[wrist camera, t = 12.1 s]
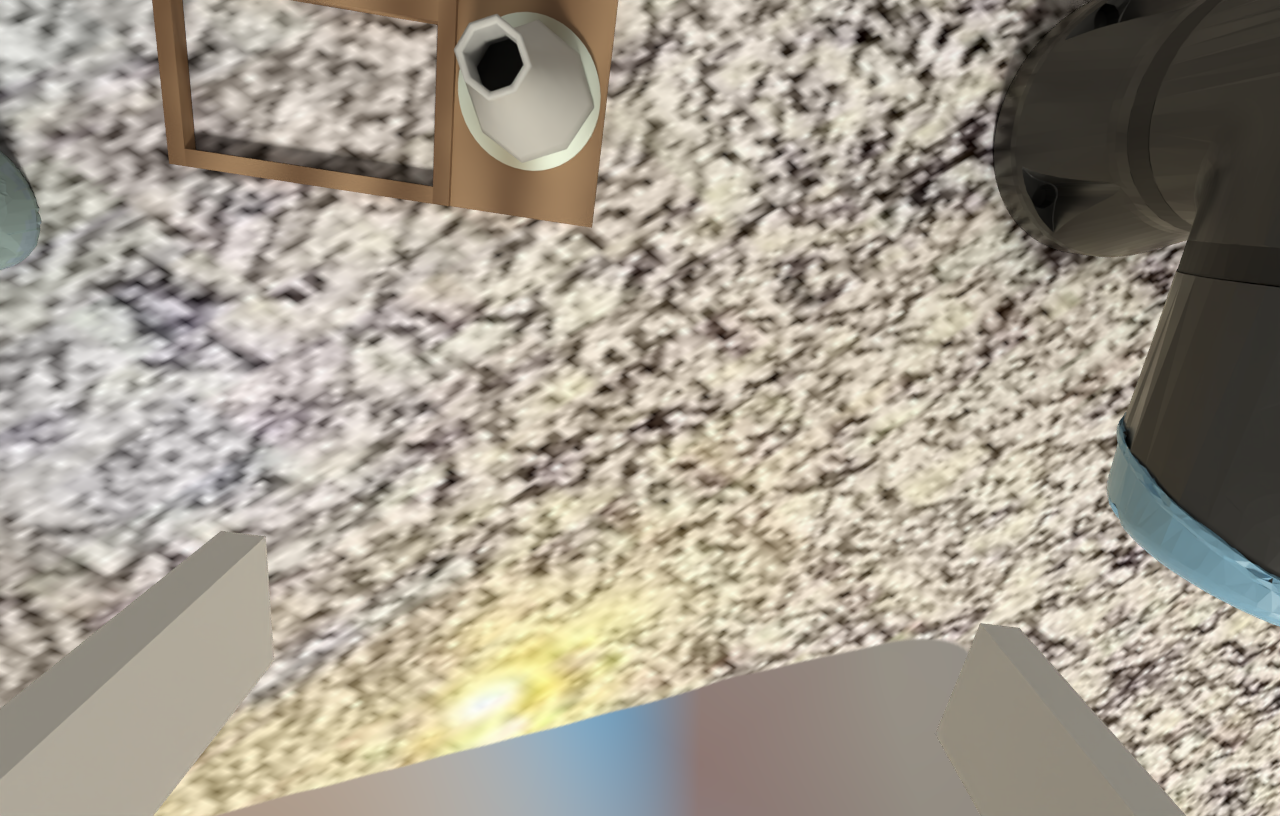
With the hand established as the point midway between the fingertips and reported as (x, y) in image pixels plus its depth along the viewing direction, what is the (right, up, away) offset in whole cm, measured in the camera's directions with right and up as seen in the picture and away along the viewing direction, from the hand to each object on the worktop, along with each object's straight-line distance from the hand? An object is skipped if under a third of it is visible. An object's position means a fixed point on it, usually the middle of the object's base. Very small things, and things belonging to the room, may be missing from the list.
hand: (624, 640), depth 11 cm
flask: (-6, +23, +25) cm, 34 cm away
